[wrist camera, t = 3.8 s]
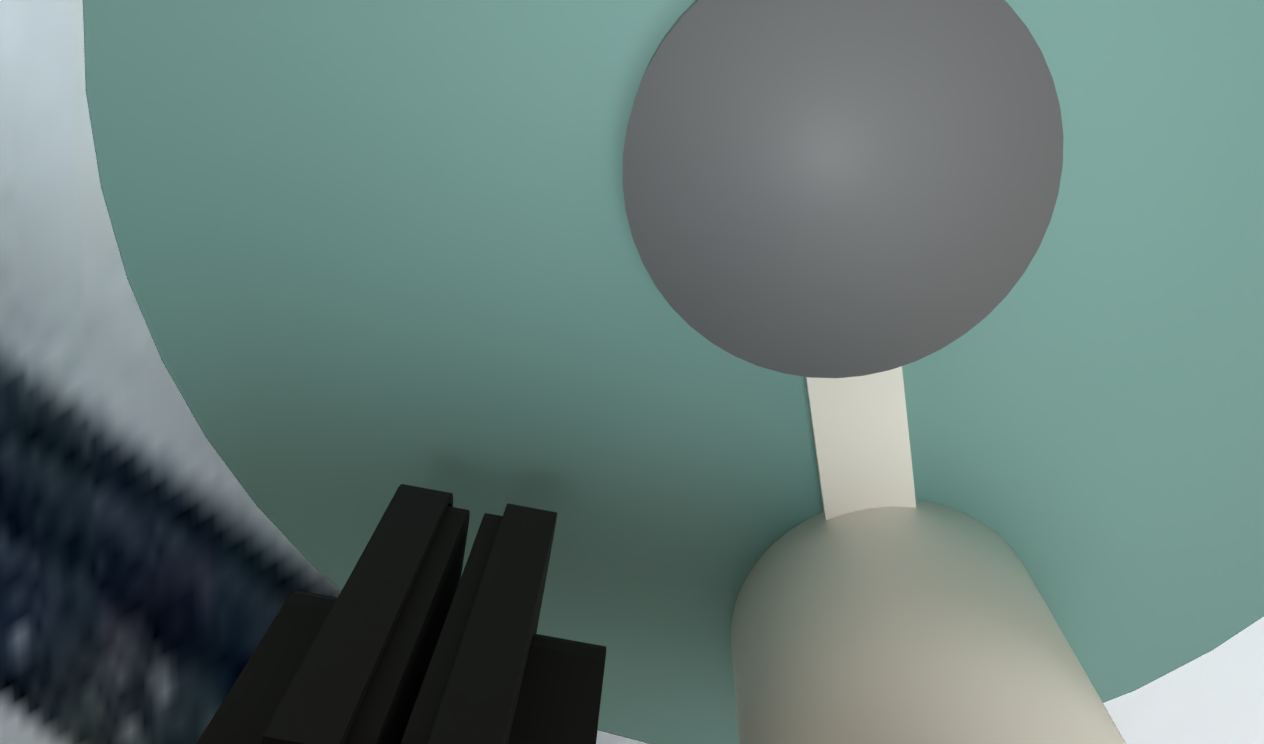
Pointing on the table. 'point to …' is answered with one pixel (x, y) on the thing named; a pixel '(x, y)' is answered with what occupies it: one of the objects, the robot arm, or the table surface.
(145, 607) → the table surface
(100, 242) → the table surface
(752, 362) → the handwheel
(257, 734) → the robot arm
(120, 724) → the table surface
